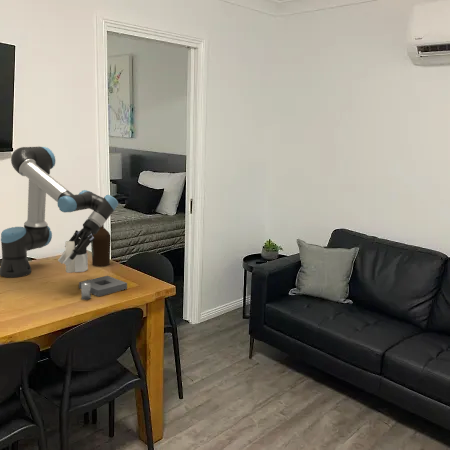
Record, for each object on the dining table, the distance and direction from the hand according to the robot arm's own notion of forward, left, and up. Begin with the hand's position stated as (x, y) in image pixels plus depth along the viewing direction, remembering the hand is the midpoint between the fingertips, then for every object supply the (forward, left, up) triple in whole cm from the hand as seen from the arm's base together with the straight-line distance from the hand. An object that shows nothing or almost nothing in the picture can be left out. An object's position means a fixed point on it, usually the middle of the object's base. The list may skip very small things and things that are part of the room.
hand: (62, 263), depth 217 cm
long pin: (0, +4, -5) cm, 6 cm away
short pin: (+13, +4, -14) cm, 19 cm away
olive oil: (-29, +40, -14) cm, 51 cm away
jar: (-27, +25, -14) cm, 40 cm away
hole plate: (+7, +17, -14) cm, 23 cm away
